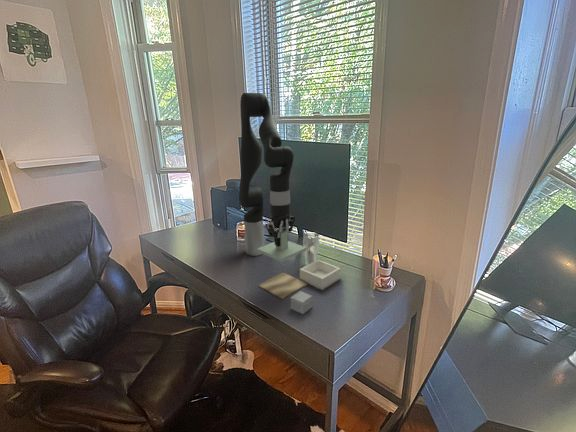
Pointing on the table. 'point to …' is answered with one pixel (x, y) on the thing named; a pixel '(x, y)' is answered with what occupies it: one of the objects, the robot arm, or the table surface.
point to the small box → (301, 302)
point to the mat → (282, 285)
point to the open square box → (320, 274)
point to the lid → (282, 248)
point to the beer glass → (311, 247)
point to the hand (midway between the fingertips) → (281, 244)
